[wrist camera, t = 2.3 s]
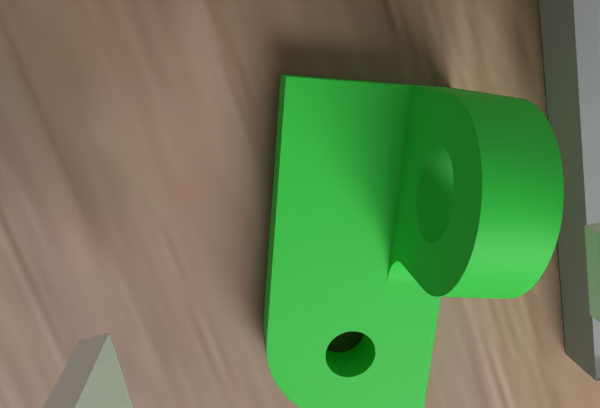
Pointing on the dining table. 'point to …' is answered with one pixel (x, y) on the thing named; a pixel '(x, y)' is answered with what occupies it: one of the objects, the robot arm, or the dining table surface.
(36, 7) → the dining table surface
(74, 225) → the dining table surface
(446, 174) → the mechanical part
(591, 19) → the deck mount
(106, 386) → the robot arm
